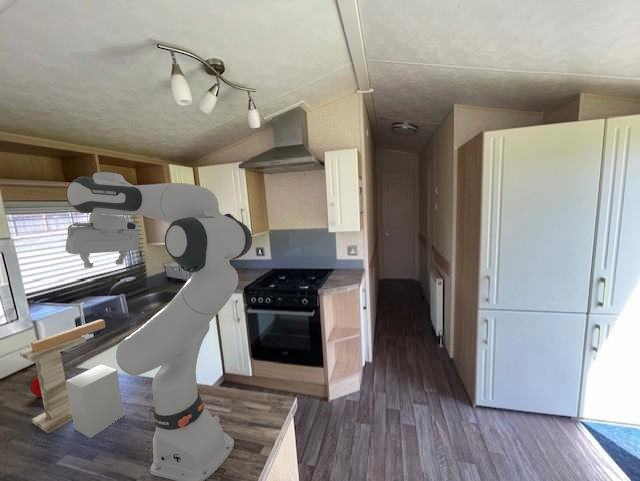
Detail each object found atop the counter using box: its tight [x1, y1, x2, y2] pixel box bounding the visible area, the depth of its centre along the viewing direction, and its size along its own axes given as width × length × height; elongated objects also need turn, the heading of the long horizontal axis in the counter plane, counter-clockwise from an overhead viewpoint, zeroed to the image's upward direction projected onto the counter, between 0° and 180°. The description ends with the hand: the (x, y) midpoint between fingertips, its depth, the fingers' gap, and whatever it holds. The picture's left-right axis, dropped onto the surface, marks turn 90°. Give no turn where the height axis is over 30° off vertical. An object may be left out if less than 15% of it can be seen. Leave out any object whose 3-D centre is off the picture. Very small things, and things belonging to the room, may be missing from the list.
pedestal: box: [65, 364, 125, 439], centre depth 91 cm, size 10×10×17 cm
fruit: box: [29, 375, 42, 398], centre depth 110 cm, size 9×9×10 cm
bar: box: [30, 318, 106, 352], centre depth 99 cm, size 3×20×3 cm, turn 154°
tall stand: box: [19, 336, 87, 434], centre depth 96 cm, size 12×14×26 cm
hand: (104, 265), depth 89 cm, fingers open, 8 cm apart
